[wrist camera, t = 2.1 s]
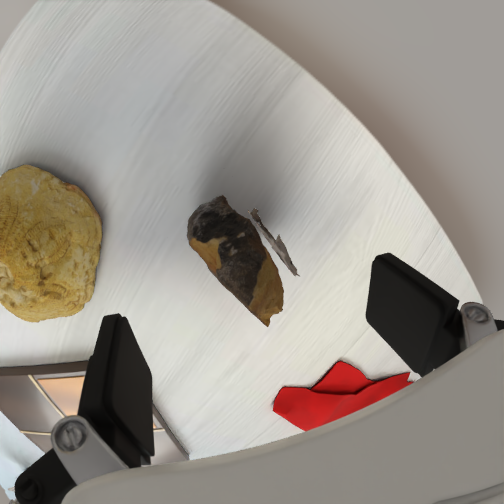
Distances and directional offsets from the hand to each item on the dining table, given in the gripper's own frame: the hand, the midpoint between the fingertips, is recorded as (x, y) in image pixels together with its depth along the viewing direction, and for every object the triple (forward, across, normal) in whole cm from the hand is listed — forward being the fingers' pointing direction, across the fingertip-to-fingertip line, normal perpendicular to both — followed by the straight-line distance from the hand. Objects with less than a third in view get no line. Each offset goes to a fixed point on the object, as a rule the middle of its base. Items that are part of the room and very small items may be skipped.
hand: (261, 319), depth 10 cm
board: (+9, +19, +18) cm, 28 cm away
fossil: (+9, +13, -2) cm, 16 cm away
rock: (+9, 0, -1) cm, 9 cm away
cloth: (+10, -13, +26) cm, 31 cm away
